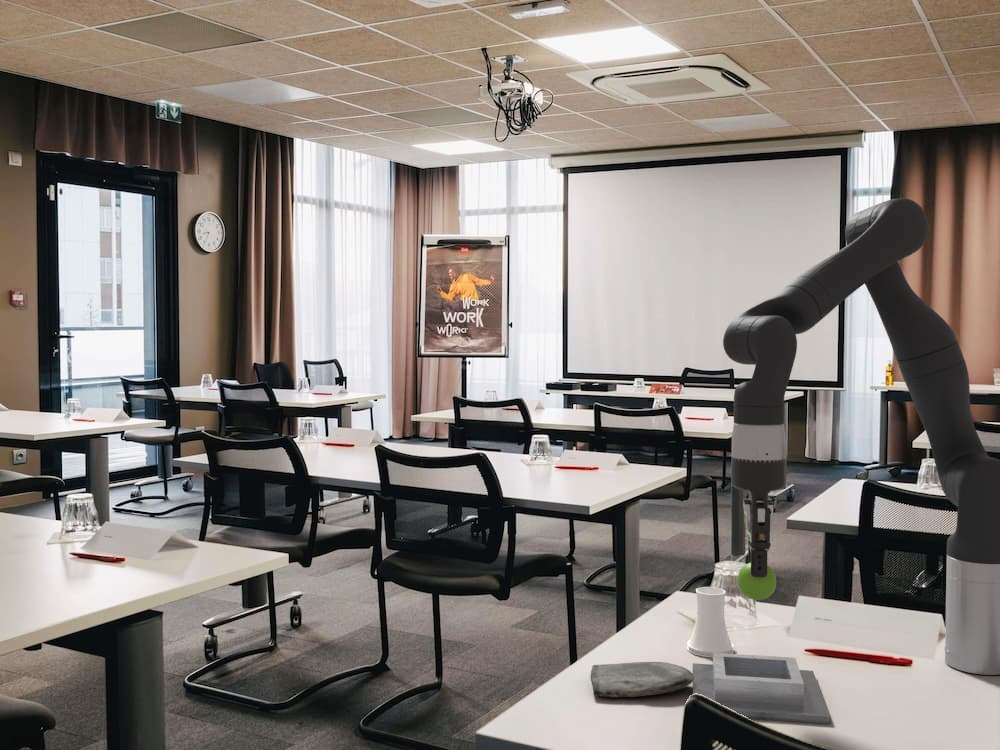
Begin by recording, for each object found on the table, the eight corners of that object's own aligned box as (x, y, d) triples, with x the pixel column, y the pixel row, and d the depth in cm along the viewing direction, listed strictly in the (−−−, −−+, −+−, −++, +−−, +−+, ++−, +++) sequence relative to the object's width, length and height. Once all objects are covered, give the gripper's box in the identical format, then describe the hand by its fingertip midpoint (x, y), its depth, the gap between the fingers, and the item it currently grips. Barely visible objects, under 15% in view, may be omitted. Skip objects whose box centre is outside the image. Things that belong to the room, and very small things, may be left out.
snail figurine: (777, 594, 140) (778, 513, 140) (775, 606, 134) (775, 521, 134) (739, 591, 142) (740, 511, 142) (735, 602, 136) (736, 519, 136)
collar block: (812, 677, 146) (813, 651, 146) (830, 724, 128) (830, 694, 128) (692, 669, 149) (692, 644, 149) (693, 714, 132) (693, 685, 131)
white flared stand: (732, 644, 161) (732, 585, 161) (735, 659, 154) (735, 597, 154) (686, 641, 163) (687, 583, 162) (687, 656, 155) (687, 595, 155)
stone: (692, 676, 146) (594, 688, 147) (688, 650, 146) (590, 661, 147) (698, 695, 135) (593, 707, 136) (694, 667, 135) (589, 679, 137)
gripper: (790, 462, 129) (789, 585, 130) (780, 449, 144) (779, 560, 144) (733, 460, 131) (732, 582, 132) (729, 448, 145) (728, 558, 146)
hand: (757, 570), depth 138 cm, fingers closed on snail figurine, 5 cm apart
